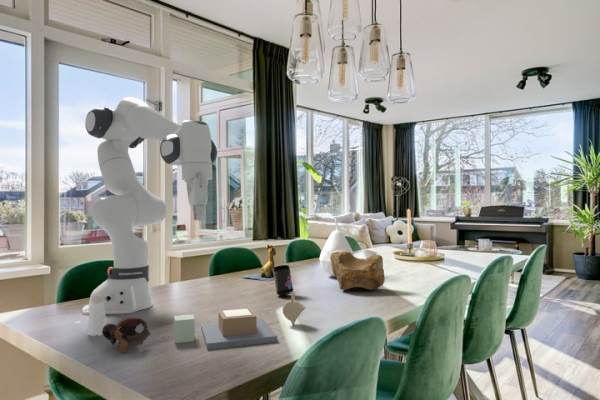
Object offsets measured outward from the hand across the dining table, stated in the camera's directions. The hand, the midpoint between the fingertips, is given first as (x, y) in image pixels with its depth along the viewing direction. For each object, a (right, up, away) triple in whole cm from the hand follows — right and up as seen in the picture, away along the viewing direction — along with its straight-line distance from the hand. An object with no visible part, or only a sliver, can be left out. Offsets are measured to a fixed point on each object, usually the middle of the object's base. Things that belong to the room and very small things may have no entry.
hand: (198, 220), depth 129 cm
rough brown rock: (+52, -31, +49) cm, 78 cm away
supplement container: (+24, -31, +39) cm, 55 cm away
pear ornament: (+49, -31, +80) cm, 99 cm away
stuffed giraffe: (+14, -32, +80) cm, 87 cm away
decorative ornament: (+29, -31, -1) cm, 43 cm away
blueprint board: (+13, -31, -10) cm, 35 cm away
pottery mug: (-15, -33, -18) cm, 40 cm away
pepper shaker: (-27, -32, -8) cm, 42 cm away
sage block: (-1, -31, -13) cm, 34 cm away
